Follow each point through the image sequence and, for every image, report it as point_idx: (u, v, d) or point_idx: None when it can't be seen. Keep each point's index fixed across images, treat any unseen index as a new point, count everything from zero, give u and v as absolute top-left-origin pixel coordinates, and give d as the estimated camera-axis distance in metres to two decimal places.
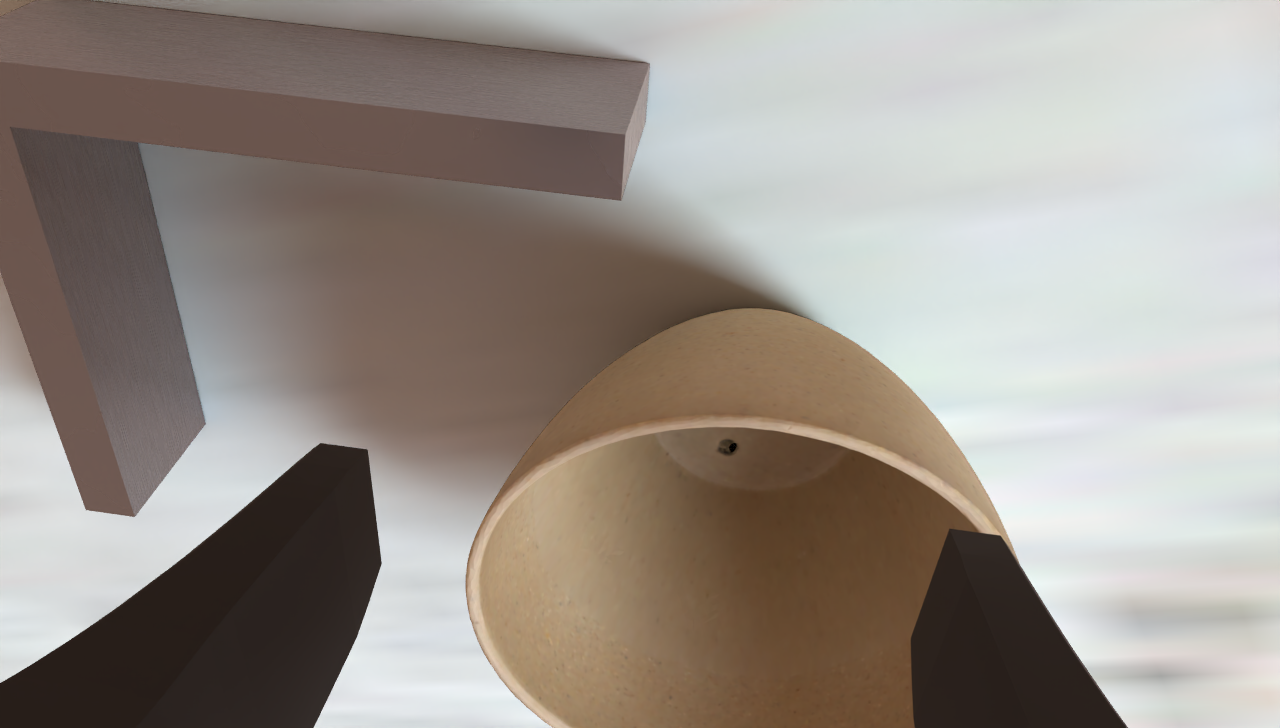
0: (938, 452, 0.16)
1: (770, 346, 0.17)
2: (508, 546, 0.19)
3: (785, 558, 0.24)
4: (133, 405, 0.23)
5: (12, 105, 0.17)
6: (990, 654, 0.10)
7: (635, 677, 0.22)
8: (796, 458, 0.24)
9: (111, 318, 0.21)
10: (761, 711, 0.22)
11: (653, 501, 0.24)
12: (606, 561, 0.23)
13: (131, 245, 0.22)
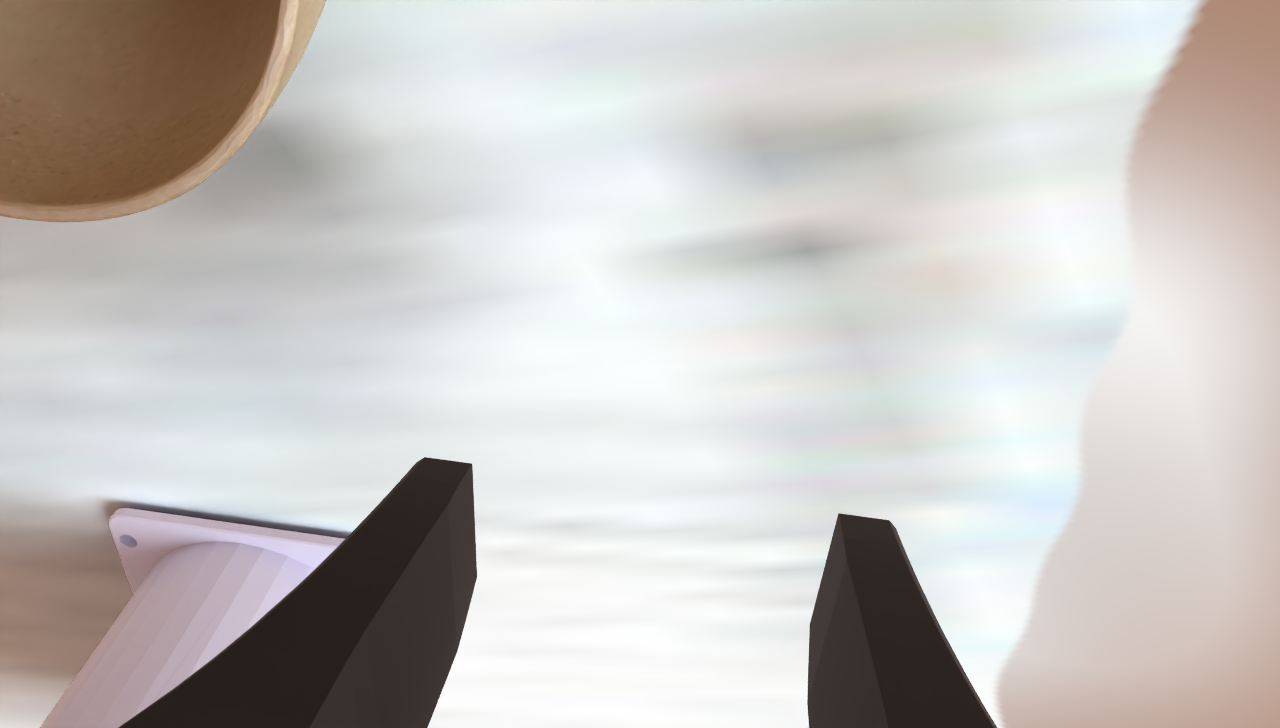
0: None
1: None
2: None
3: (235, 5, 0.18)
4: None
5: None
6: (858, 634, 0.10)
7: None
8: None
9: None
10: (135, 147, 0.16)
11: None
12: None
13: None
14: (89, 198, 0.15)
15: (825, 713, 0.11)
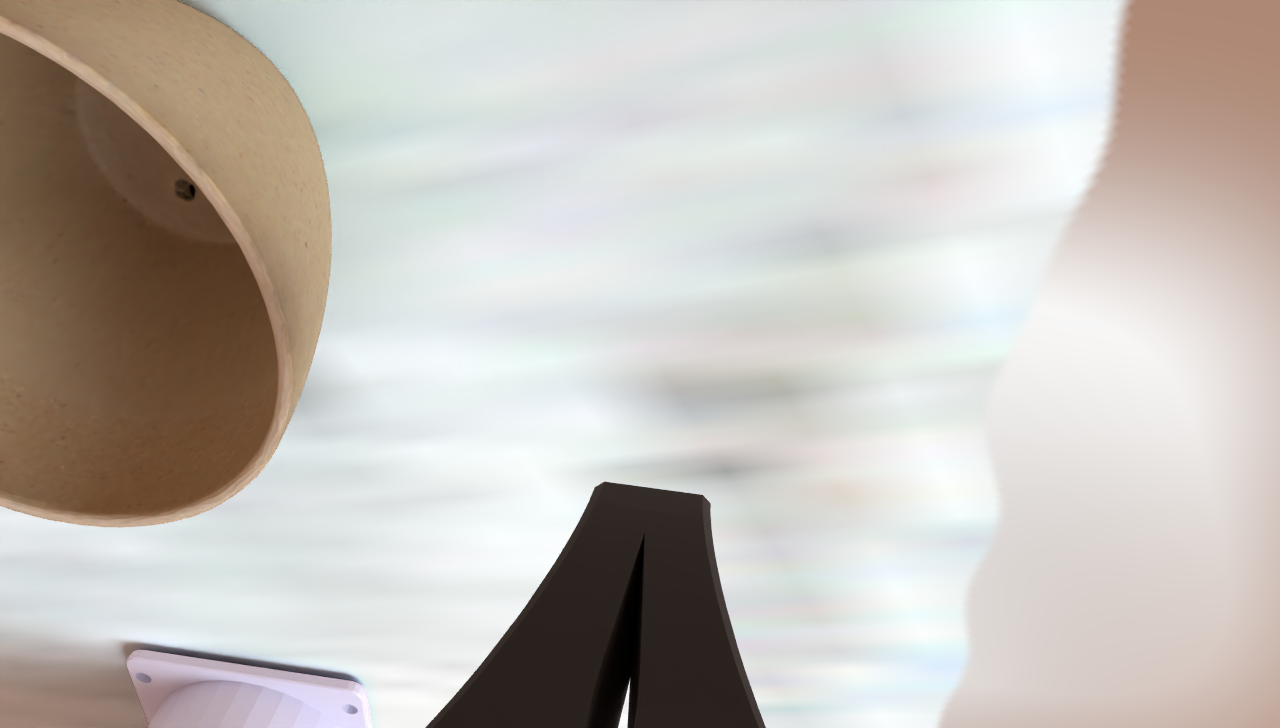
0: (110, 43, 0.14)
1: None
2: None
3: (239, 307, 0.22)
4: None
5: None
6: (641, 603, 0.10)
7: (25, 415, 0.20)
8: None
9: None
10: (159, 451, 0.20)
11: (99, 247, 0.22)
12: (14, 298, 0.20)
13: None
14: (124, 507, 0.19)
15: (632, 684, 0.11)
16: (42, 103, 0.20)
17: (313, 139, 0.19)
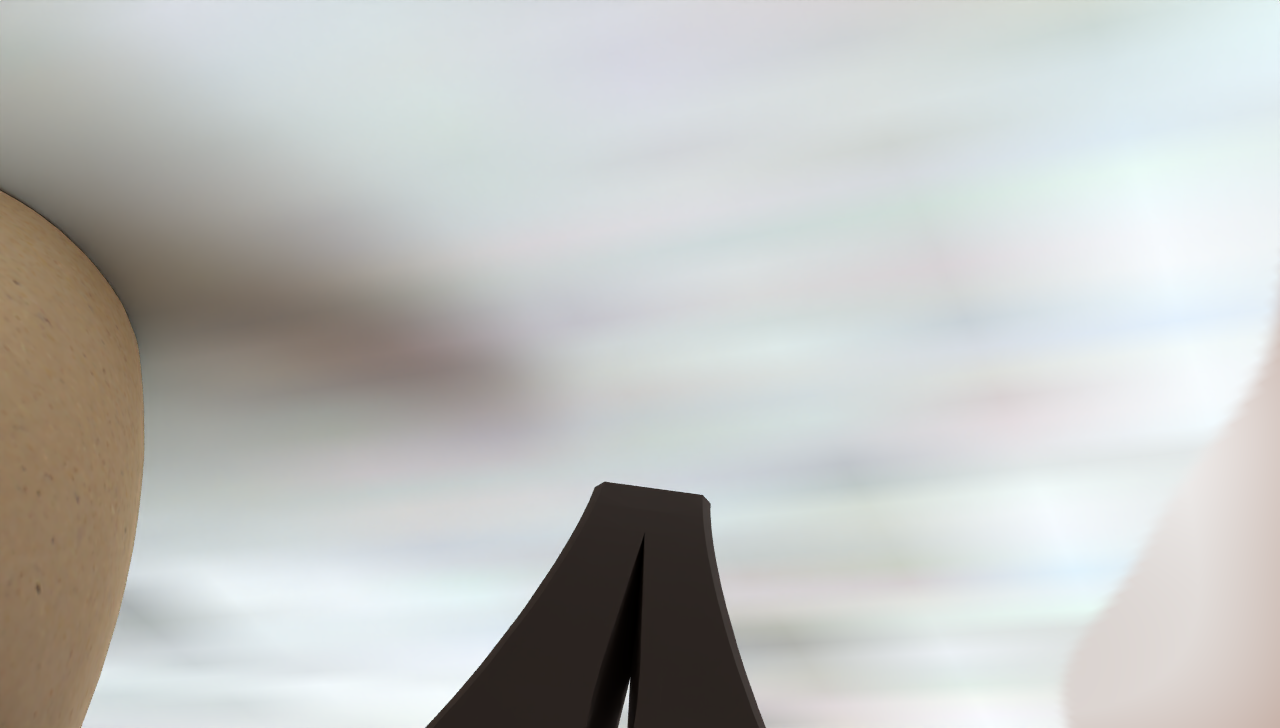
0: None
1: None
2: None
3: None
4: None
5: None
6: (640, 603, 0.10)
7: None
8: None
9: None
10: None
11: None
12: None
13: None
14: None
15: (632, 684, 0.11)
16: None
17: (102, 365, 0.13)
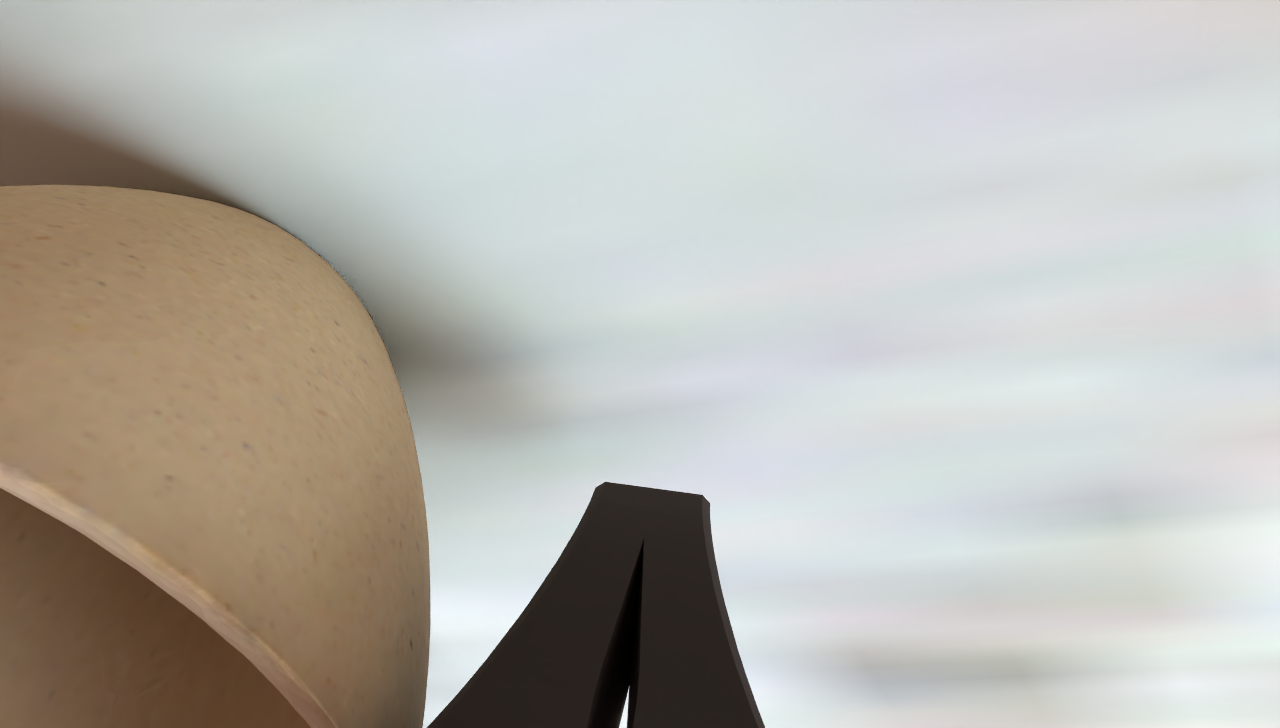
0: (84, 407, 0.08)
1: None
2: None
3: None
4: None
5: None
6: (640, 602, 0.10)
7: None
8: None
9: None
10: None
11: None
12: None
13: None
14: None
15: (631, 684, 0.11)
16: None
17: (401, 405, 0.13)
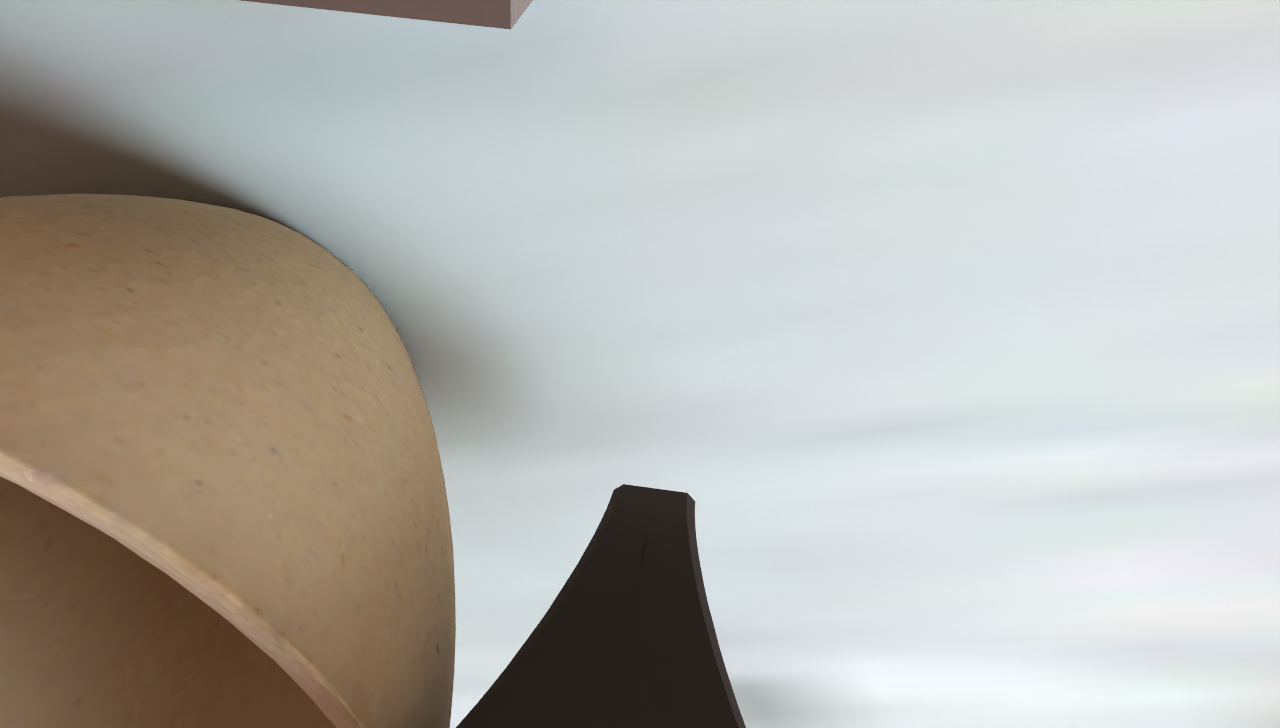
0: (115, 412, 0.08)
1: None
2: None
3: None
4: None
5: None
6: (623, 601, 0.10)
7: None
8: None
9: None
10: None
11: None
12: None
13: None
14: None
15: None
16: None
17: (424, 410, 0.13)
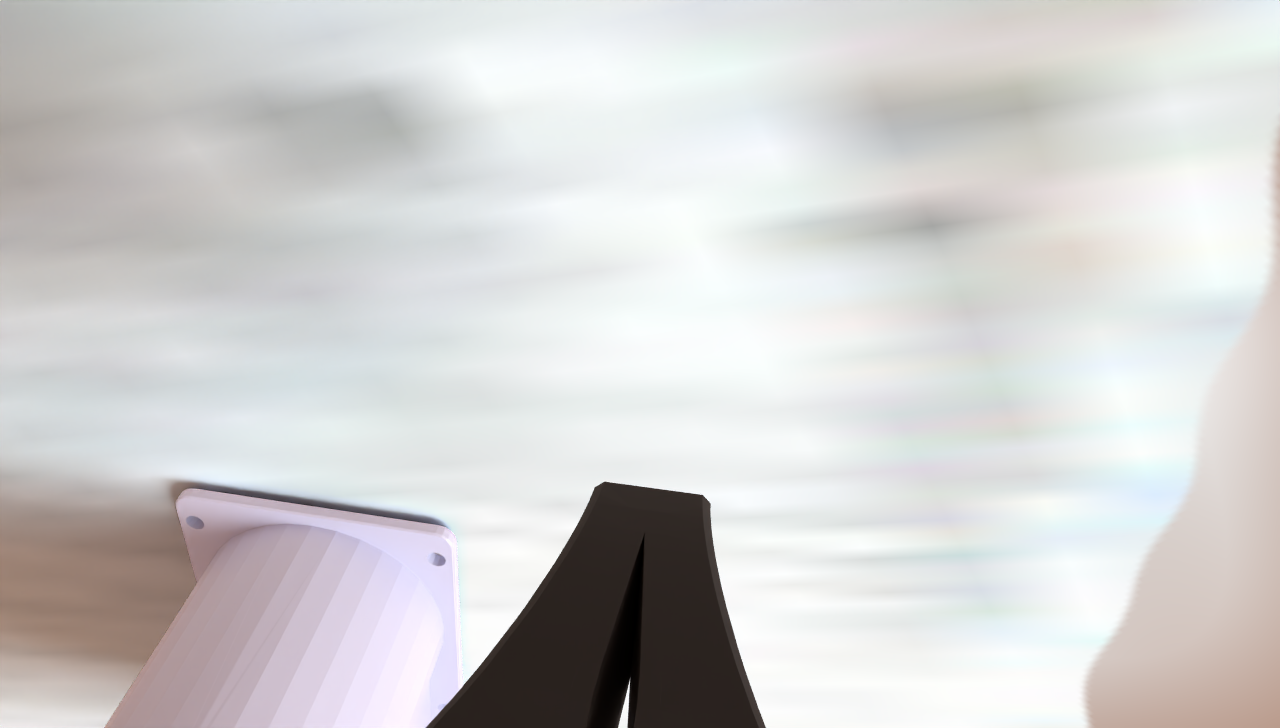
0: None
1: None
2: None
3: None
4: None
5: None
6: (641, 603, 0.10)
7: None
8: None
9: None
10: None
11: None
12: None
13: None
14: None
15: (632, 684, 0.11)
16: None
17: None
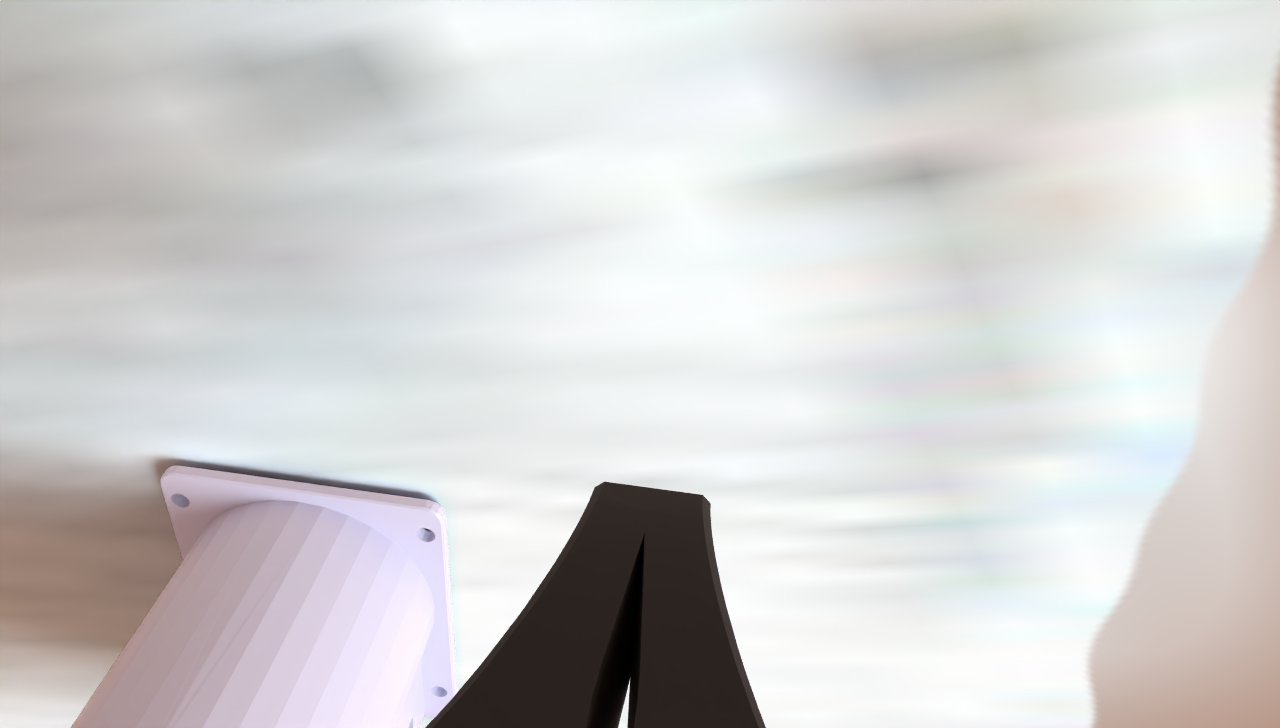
0: None
1: None
2: None
3: None
4: None
5: None
6: (640, 603, 0.10)
7: None
8: None
9: None
10: None
11: None
12: None
13: None
14: None
15: (632, 684, 0.11)
16: None
17: None
